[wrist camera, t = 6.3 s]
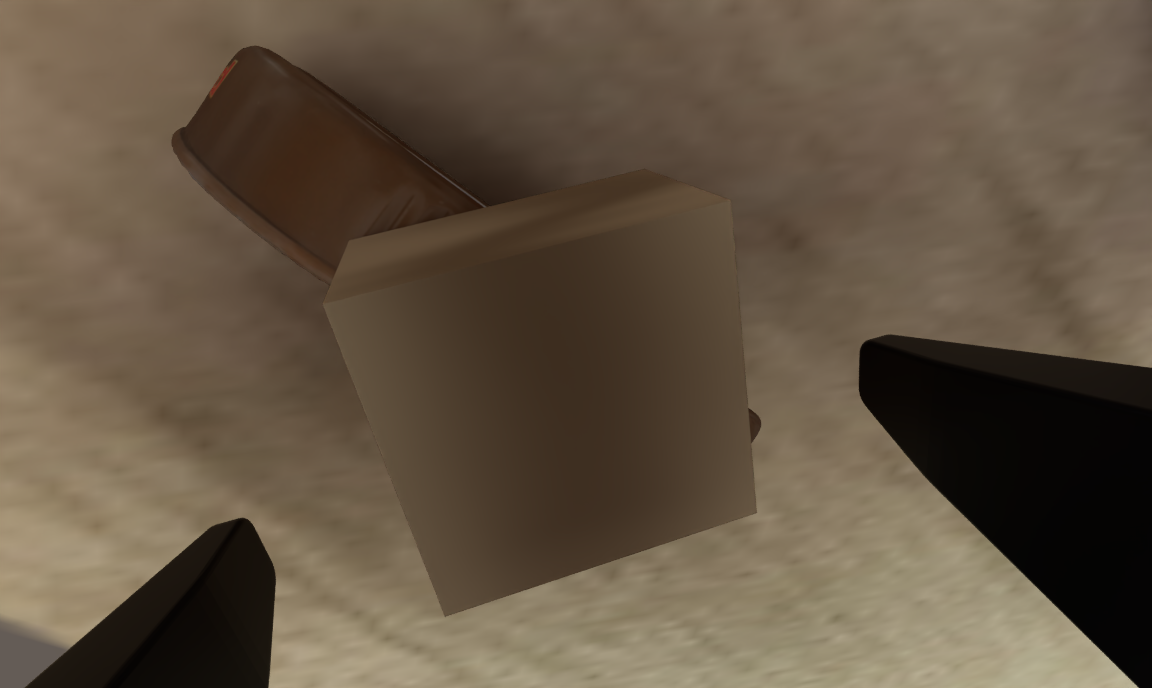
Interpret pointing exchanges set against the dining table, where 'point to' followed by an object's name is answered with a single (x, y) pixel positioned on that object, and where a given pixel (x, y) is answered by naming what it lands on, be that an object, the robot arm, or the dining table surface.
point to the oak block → (552, 378)
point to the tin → (311, 165)
